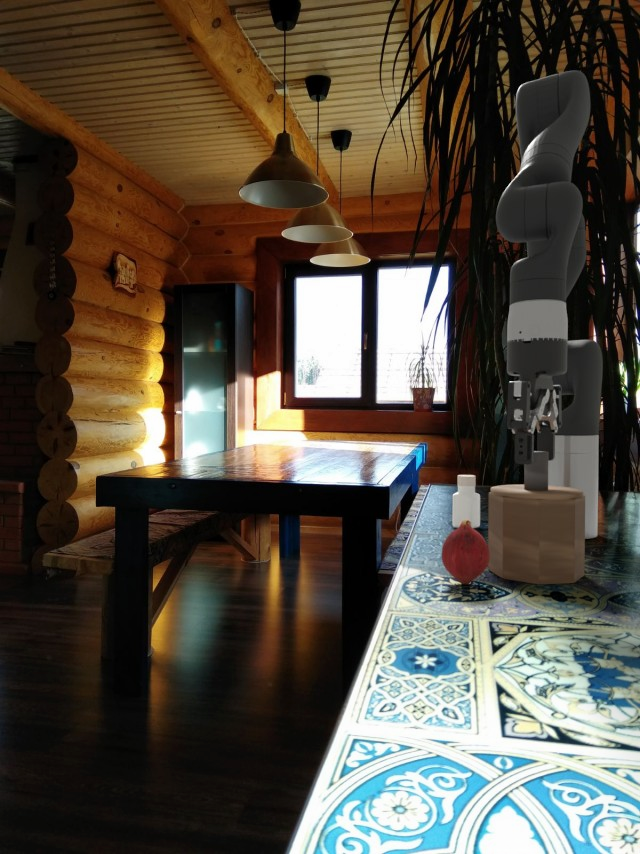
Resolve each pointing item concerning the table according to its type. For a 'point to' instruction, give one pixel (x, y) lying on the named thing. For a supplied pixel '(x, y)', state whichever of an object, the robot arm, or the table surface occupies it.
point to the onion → (465, 553)
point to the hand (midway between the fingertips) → (535, 462)
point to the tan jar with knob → (536, 529)
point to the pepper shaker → (466, 502)
